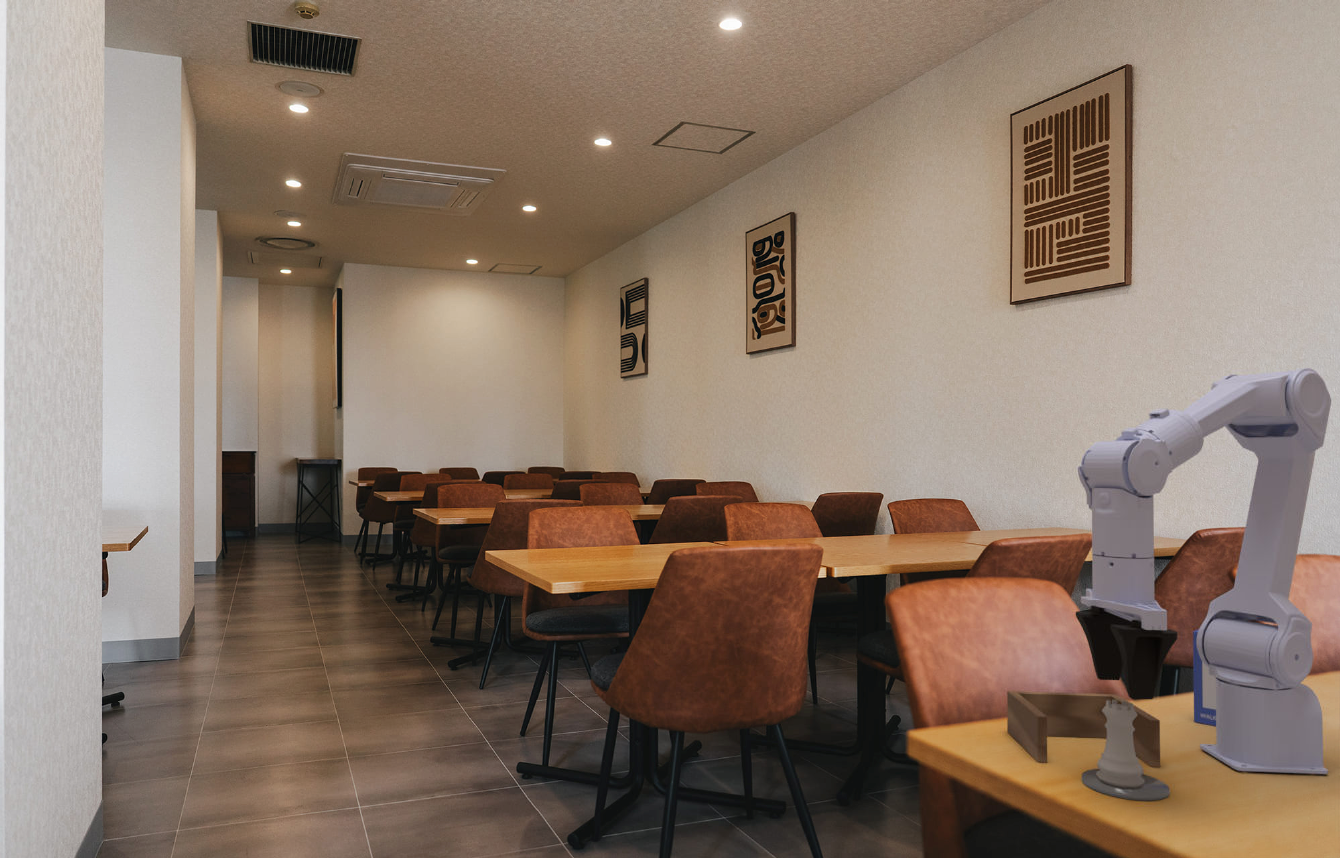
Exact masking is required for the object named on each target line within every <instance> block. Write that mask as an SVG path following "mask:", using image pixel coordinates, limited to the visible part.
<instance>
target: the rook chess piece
mask: <svg viewBox="0 0 1340 858" xmlns="http://www.w3.org/2000/svg"><path fill="white" fill-rule="evenodd" d="M1127 701H1128V700H1127ZM1127 701H1123V700H1122V705H1121V704H1117V700H1112V704H1111V701H1110V700H1107V701H1106V706H1105V707H1104V708H1103V709H1102V712H1103V713H1104V714H1105V716H1106V717H1107V723H1106V724H1105V727H1106V728H1107V738H1105V746H1104V750H1103V753H1101V757H1100V758H1099V759H1098V760H1097V763H1096V766H1097V769H1100V770H1099V771H1097V773H1096V775H1097V776H1098V778H1099V779H1100V780H1101V781H1102V782H1103V783H1105V784H1108V785H1111V786H1114V787H1120V788H1130V789H1133V788H1138V787H1140V786H1141V785H1142V784H1143V783H1144V779H1143V778H1142V777H1141V775H1142V774H1144V773H1145V772H1144V767H1143V765H1142V764H1141V763H1140V762H1139V761H1140V758H1138V757H1137V756H1136V754H1135V749H1134V743H1133V732H1134V730H1135V728H1134V727H1133V725H1132V722H1133V720H1134V719H1135V718H1136V716H1137V713H1136V712H1135V710H1134V709H1133V705H1134V703H1132V702H1130V703H1128V706H1127Z"/></svg>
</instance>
